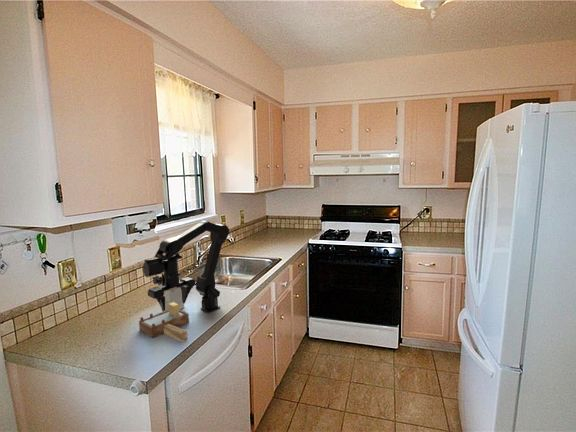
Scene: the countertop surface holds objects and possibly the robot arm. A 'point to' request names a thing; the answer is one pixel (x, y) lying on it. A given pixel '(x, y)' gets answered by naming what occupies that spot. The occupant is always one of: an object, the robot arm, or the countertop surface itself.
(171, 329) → the tan block
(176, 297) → the small box
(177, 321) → the brown frame
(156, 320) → the lid
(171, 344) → the countertop surface
